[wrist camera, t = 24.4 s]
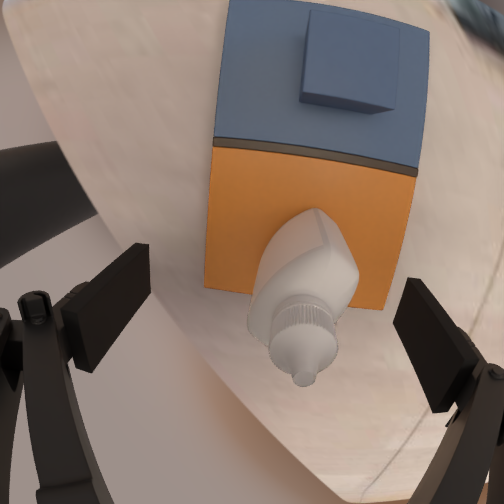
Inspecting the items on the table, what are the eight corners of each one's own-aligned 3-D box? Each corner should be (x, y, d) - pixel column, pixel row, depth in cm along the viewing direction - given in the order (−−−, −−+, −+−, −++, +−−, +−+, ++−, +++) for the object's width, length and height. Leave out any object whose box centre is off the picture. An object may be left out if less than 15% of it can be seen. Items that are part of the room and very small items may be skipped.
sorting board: (205, 283, 23) (203, 288, 22) (231, 0, 15) (229, -4, 15) (381, 306, 22) (383, 311, 21) (426, 33, 14) (430, 30, 14)
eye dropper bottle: (245, 228, 20) (192, 345, 9) (329, 200, 19) (382, 295, 8) (268, 287, 22) (246, 431, 10) (348, 262, 20) (397, 398, 9)
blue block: (298, 102, 17) (301, 92, 13) (305, 35, 15) (309, 8, 11) (371, 115, 17) (395, 110, 13) (377, 48, 15) (400, 27, 11)
